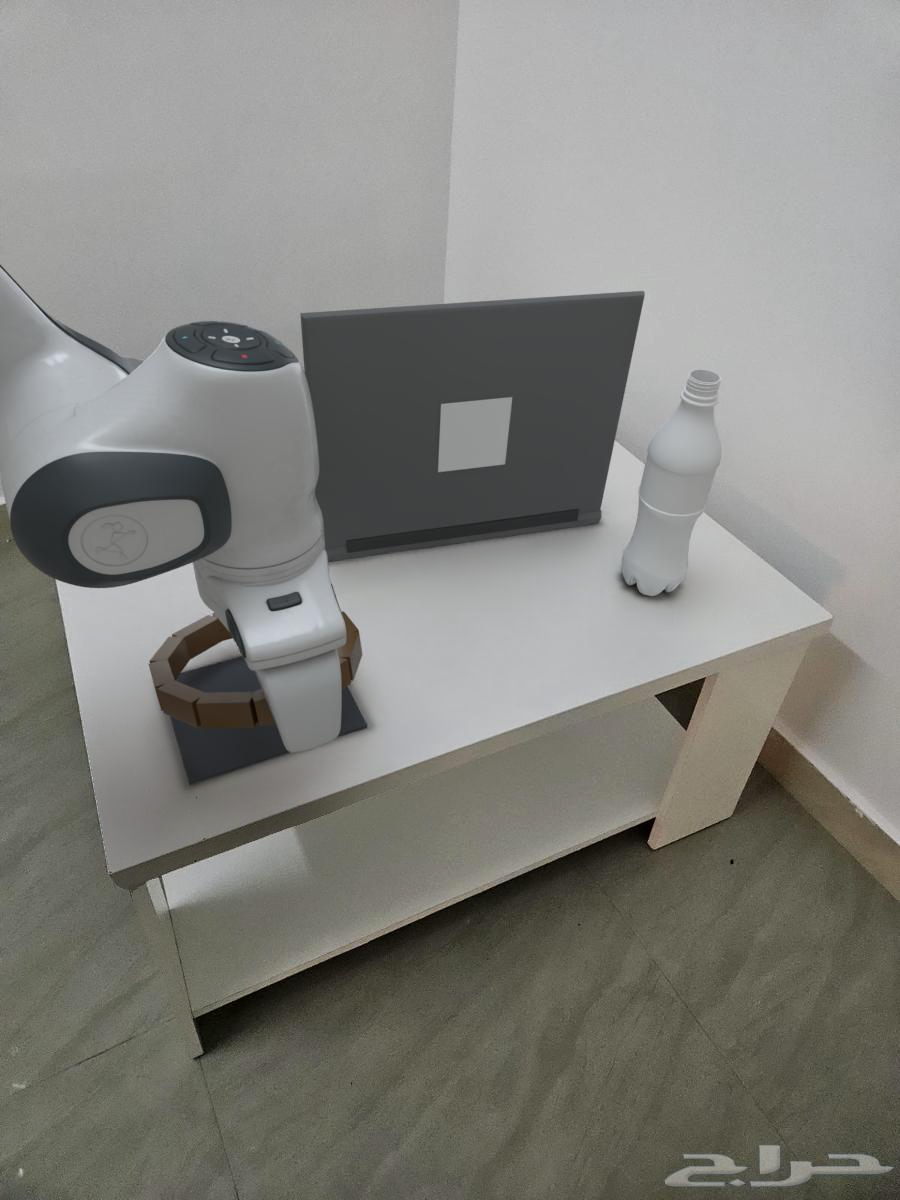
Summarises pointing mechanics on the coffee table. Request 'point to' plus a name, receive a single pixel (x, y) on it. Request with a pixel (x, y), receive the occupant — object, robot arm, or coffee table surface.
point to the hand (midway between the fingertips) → (279, 698)
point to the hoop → (223, 705)
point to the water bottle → (674, 488)
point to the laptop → (465, 417)
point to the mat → (237, 746)
